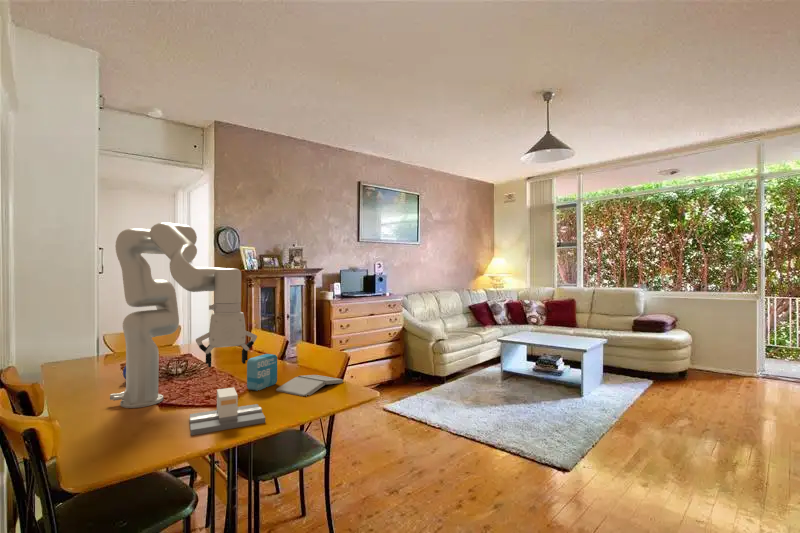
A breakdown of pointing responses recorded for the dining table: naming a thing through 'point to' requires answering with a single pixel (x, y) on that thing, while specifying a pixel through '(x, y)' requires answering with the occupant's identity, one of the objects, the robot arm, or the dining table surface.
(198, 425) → the rail board
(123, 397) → the robot arm
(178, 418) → the dining table surface
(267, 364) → the data package
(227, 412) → the module
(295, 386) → the grey bent flat piece
